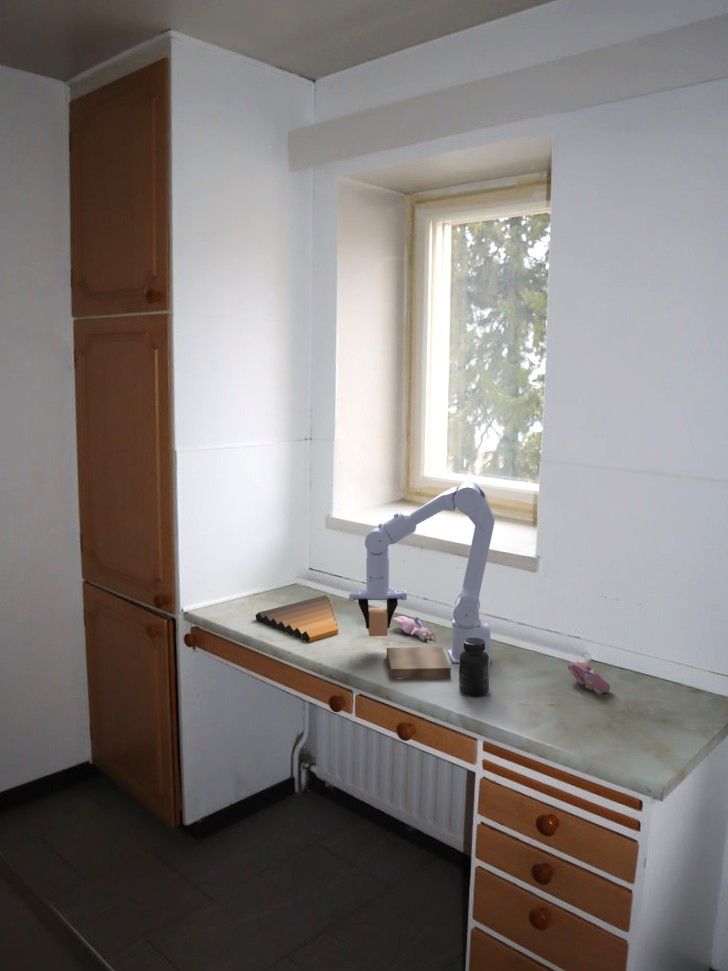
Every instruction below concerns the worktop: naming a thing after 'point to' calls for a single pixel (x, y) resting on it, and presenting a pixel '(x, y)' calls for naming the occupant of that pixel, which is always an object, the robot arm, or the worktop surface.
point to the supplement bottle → (474, 668)
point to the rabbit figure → (414, 627)
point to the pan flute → (302, 619)
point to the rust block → (378, 621)
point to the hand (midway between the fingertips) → (377, 627)
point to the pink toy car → (588, 677)
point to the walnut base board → (418, 662)
